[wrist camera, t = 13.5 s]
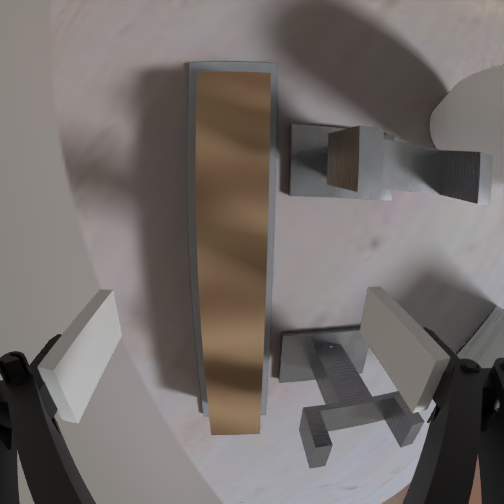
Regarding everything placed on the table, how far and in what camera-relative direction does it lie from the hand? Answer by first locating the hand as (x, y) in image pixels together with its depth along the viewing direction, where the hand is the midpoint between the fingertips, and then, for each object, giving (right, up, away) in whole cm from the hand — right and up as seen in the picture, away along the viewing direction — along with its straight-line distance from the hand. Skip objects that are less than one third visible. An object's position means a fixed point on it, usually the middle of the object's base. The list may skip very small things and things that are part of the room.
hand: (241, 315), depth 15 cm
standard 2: (+7, -6, +10) cm, 14 cm away
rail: (-1, +2, +7) cm, 7 cm away
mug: (+19, +14, +6) cm, 24 cm away
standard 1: (+7, +9, +6) cm, 13 cm away
